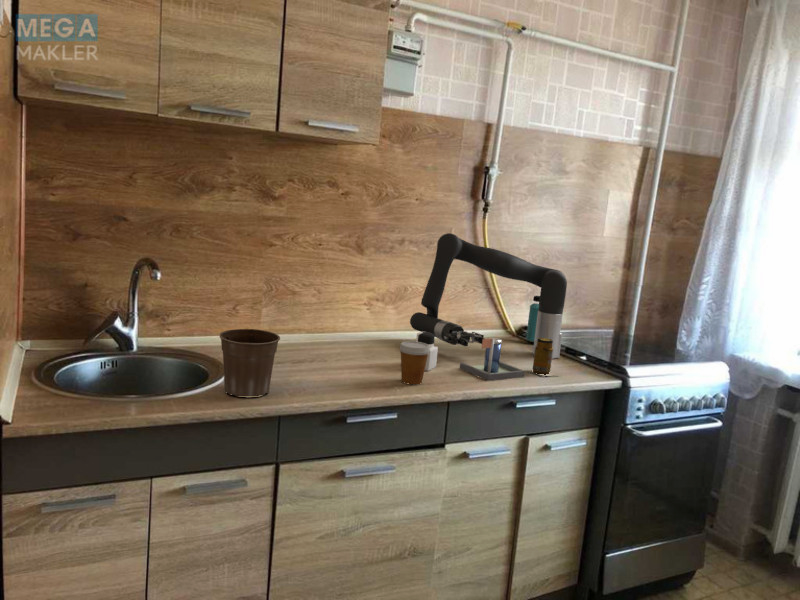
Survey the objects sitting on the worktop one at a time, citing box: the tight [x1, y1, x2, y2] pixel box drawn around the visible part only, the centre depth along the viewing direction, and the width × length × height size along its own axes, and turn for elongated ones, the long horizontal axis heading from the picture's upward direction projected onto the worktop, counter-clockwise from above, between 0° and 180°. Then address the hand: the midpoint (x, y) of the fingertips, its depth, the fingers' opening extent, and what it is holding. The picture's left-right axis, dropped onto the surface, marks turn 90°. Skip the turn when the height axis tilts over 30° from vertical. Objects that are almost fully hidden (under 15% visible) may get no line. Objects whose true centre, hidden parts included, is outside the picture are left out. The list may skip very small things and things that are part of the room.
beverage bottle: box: [525, 295, 540, 342], centre depth 278 cm, size 6×7×20 cm
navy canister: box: [483, 337, 503, 373], centre depth 229 cm, size 5×5×11 cm
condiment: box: [527, 338, 553, 378], centre depth 233 cm, size 7×8×12 cm
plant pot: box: [219, 328, 281, 397], centre depth 186 cm, size 16×16×16 cm
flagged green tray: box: [459, 337, 526, 382], centre depth 227 cm, size 15×20×14 cm
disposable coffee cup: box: [398, 340, 430, 385], centre depth 209 cm, size 10×10×12 cm
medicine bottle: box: [415, 331, 439, 372], centre depth 227 cm, size 7×7×12 cm
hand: (476, 342), depth 236 cm, fingers open, 8 cm apart
